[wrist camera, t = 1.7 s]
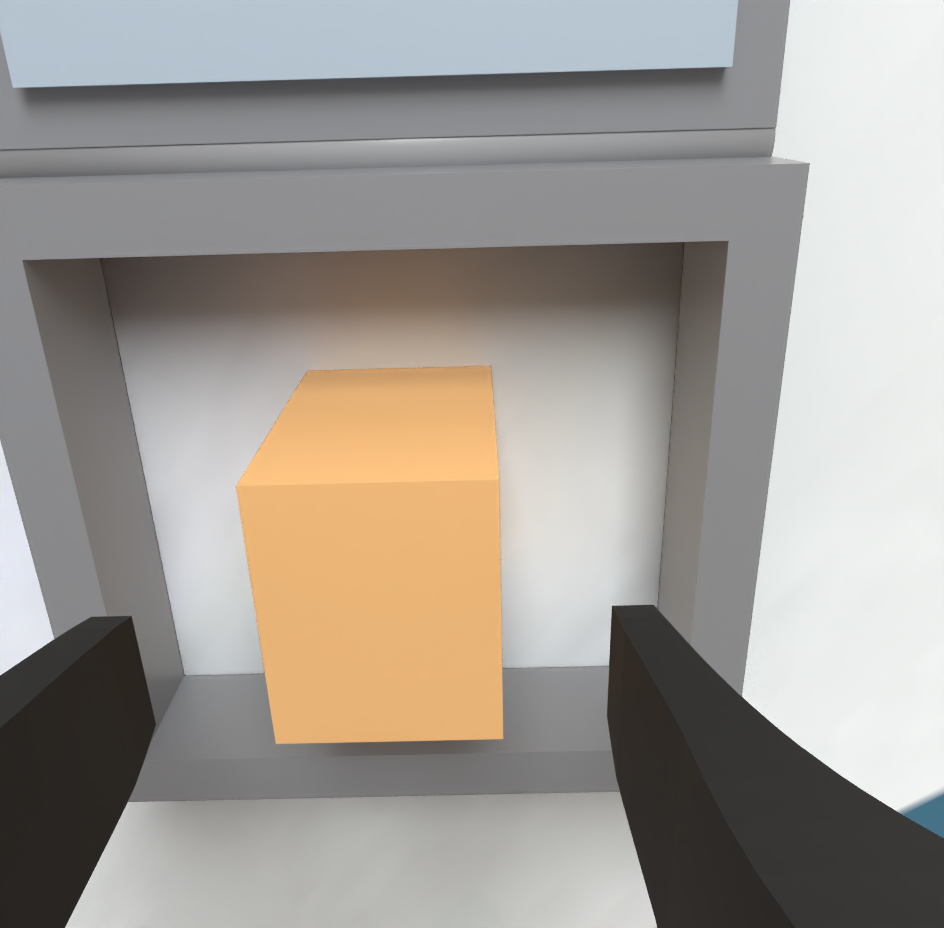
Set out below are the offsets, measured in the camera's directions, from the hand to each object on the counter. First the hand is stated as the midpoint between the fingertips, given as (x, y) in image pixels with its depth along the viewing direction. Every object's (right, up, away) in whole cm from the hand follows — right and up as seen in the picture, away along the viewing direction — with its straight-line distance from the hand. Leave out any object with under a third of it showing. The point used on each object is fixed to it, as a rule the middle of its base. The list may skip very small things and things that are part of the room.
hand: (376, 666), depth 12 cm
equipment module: (0, +3, +7) cm, 7 cm away
